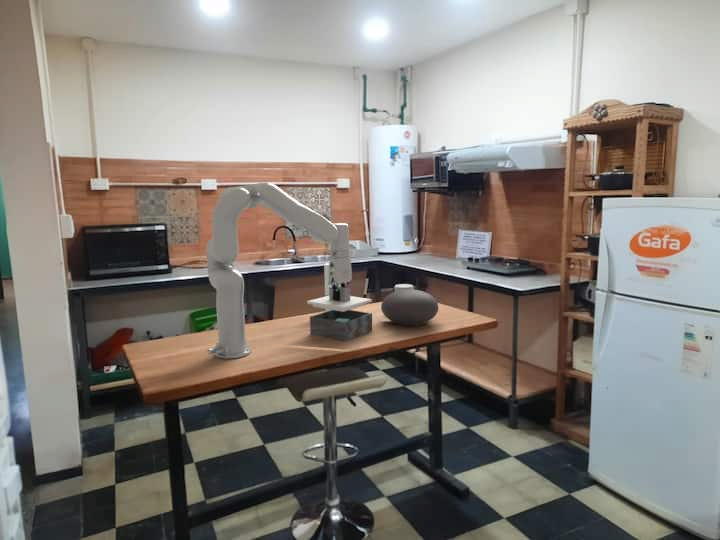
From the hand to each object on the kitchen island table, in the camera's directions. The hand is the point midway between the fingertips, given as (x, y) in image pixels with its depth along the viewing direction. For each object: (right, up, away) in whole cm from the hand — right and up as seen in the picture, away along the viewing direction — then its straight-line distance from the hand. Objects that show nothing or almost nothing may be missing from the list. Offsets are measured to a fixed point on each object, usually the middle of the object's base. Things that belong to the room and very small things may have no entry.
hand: (339, 298), depth 197 cm
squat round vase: (+30, -12, +17) cm, 36 cm away
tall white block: (-4, -10, +29) cm, 32 cm away
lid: (0, -3, 0) cm, 3 cm away
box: (+1, -14, +3) cm, 15 cm away
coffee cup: (+30, -8, +42) cm, 52 cm away
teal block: (+1, -14, +2) cm, 14 cm away
